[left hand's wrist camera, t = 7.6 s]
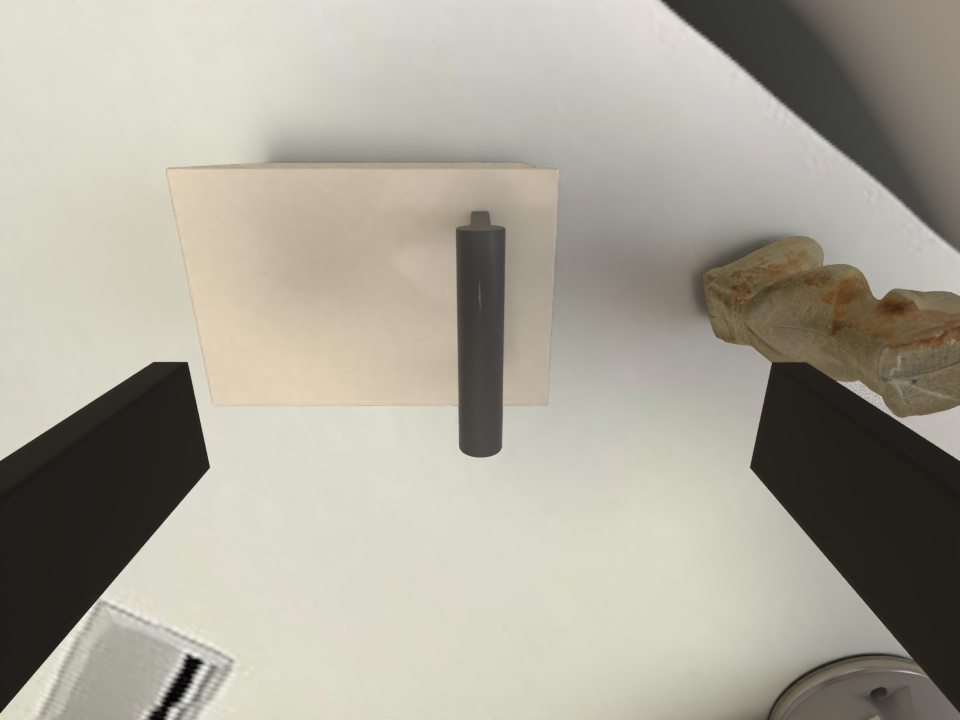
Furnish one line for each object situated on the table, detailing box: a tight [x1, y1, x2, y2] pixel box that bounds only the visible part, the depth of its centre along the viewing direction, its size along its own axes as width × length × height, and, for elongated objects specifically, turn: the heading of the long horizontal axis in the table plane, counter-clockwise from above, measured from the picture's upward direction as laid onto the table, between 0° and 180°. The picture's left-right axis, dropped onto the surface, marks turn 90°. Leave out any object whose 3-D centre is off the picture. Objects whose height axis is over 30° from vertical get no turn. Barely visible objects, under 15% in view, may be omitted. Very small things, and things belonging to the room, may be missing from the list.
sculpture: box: [703, 236, 960, 418], centre depth 26 cm, size 6×7×15 cm
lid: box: [166, 167, 560, 457], centre depth 20 cm, size 15×10×8 cm, turn 90°
